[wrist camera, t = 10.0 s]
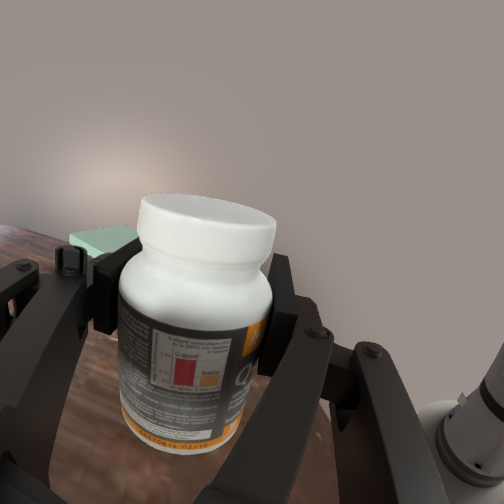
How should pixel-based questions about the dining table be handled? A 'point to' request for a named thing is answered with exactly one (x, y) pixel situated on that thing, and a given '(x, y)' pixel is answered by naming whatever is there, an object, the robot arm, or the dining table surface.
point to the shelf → (104, 239)
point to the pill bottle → (192, 319)
